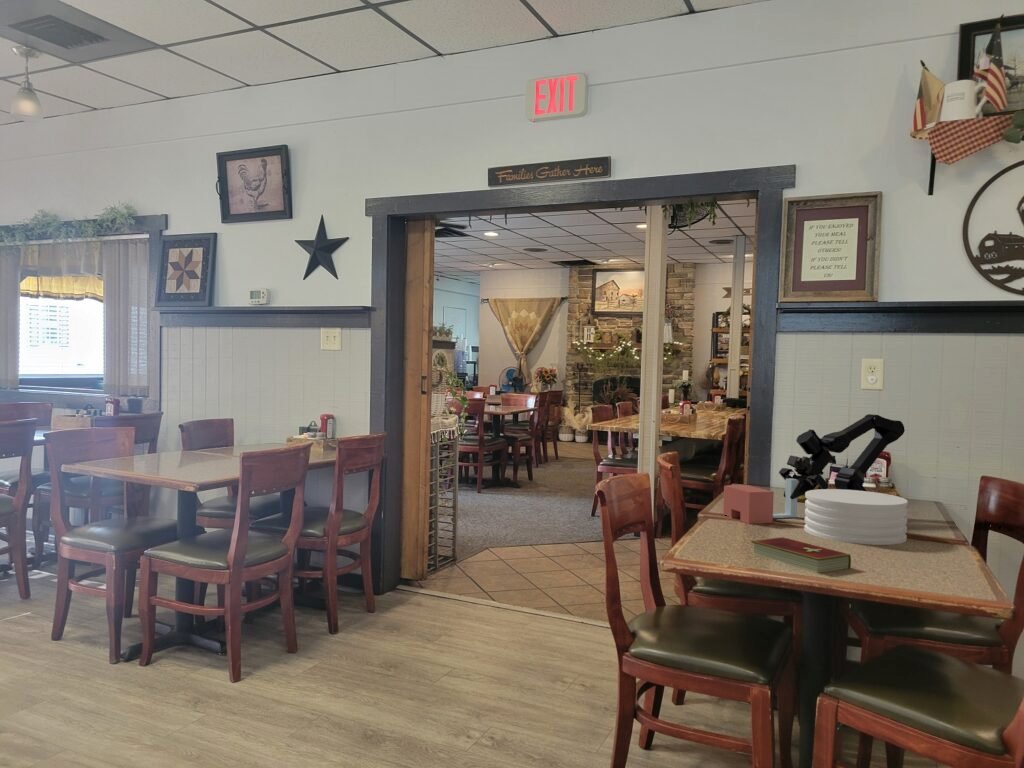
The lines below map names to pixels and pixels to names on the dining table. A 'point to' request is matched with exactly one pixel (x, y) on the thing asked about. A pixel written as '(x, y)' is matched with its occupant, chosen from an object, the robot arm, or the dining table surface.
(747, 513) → the block
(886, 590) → the dining table surface
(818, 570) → the hardcover book
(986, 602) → the dining table surface
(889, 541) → the plate stack
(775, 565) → the dining table surface
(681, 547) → the dining table surface
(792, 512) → the light blue l-shaped piece
